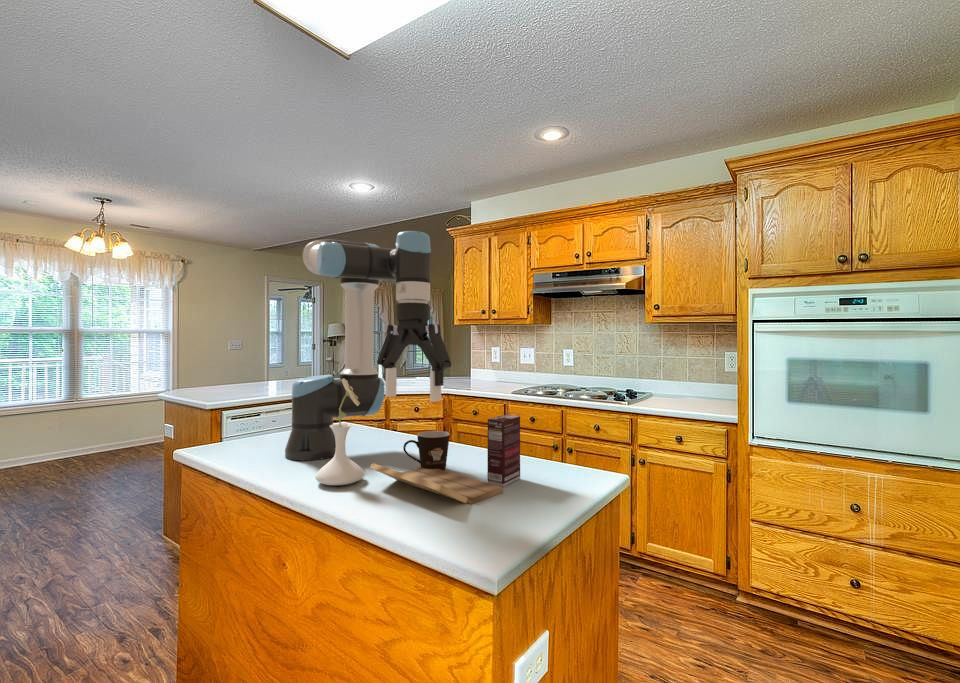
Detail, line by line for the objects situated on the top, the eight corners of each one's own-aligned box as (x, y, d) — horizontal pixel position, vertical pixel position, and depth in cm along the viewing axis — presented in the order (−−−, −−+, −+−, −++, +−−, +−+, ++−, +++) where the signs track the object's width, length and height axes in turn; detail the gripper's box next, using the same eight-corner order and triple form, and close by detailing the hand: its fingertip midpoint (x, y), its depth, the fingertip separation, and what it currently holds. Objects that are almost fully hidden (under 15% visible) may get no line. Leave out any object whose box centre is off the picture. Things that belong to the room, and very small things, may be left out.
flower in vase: (359, 489, 108) (360, 381, 108) (308, 490, 108) (309, 381, 107) (369, 473, 121) (370, 376, 121) (324, 473, 121) (325, 376, 120)
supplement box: (504, 475, 121) (505, 413, 120) (520, 479, 118) (521, 415, 118) (485, 484, 113) (486, 418, 113) (502, 487, 111) (503, 420, 111)
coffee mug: (451, 467, 129) (452, 431, 129) (446, 476, 120) (446, 437, 120) (410, 466, 130) (410, 430, 130) (402, 475, 121) (402, 436, 121)
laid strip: (395, 478, 117) (395, 473, 117) (427, 470, 125) (427, 465, 125) (471, 504, 99) (471, 498, 99) (502, 492, 107) (502, 487, 107)
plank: (369, 467, 110) (372, 462, 111) (396, 479, 116) (398, 474, 116) (439, 490, 94) (441, 484, 94) (466, 503, 100) (468, 497, 100)
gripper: (362, 303, 108) (361, 396, 108) (445, 298, 93) (444, 405, 94) (386, 306, 114) (386, 393, 114) (468, 301, 100) (467, 401, 100)
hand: (412, 398), depth 104 cm, fingers open, 13 cm apart
